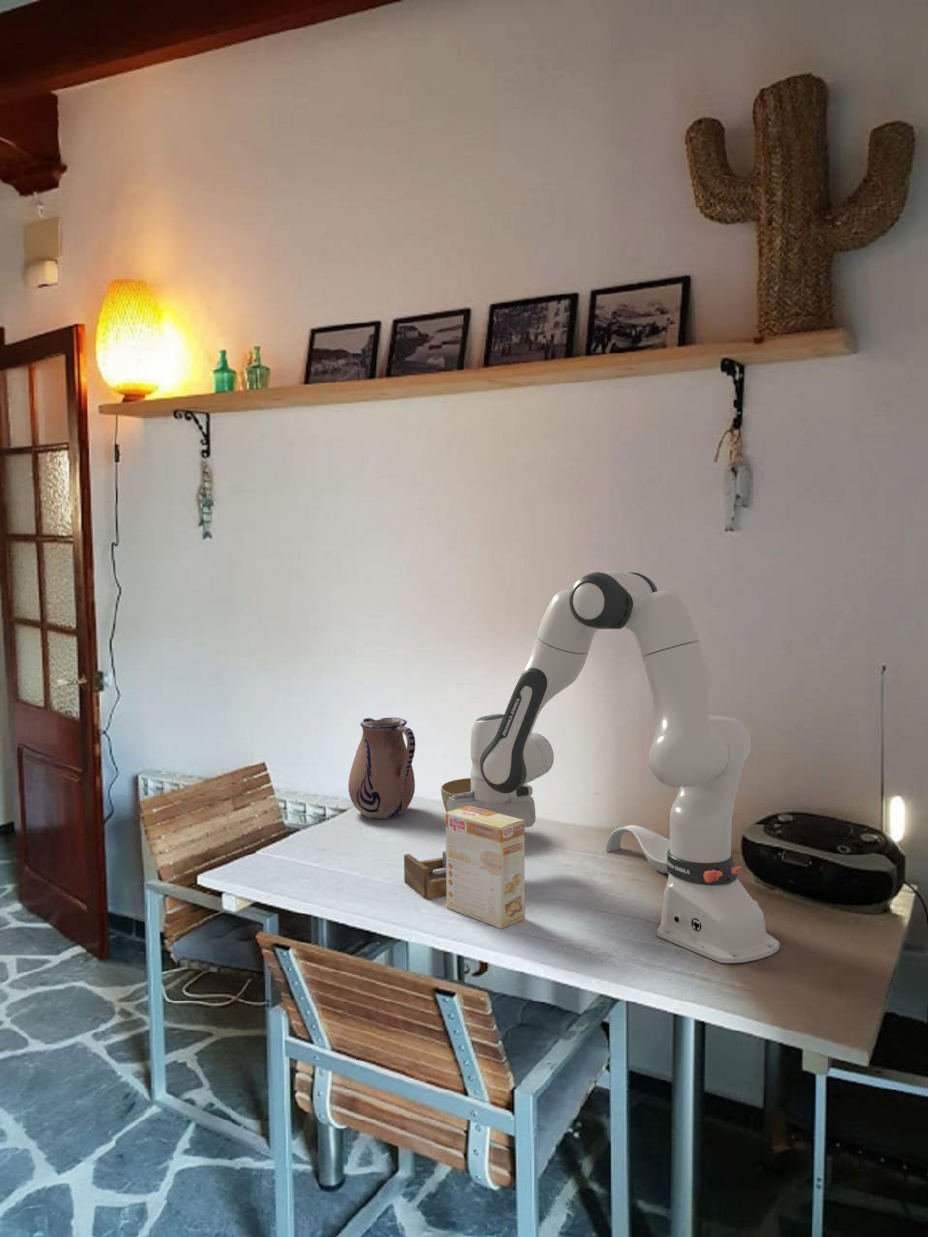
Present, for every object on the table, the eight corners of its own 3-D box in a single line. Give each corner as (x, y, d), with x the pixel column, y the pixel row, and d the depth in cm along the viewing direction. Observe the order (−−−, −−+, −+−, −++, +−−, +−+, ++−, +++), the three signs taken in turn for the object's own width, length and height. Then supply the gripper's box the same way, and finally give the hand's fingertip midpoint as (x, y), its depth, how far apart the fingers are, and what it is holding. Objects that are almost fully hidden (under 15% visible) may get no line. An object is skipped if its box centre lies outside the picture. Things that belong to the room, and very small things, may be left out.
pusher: (447, 873, 205) (447, 850, 204) (466, 887, 197) (466, 863, 196) (425, 877, 202) (424, 854, 202) (443, 891, 194) (442, 868, 194)
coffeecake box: (526, 919, 181) (526, 819, 179) (501, 930, 176) (500, 827, 174) (470, 898, 192) (469, 804, 190) (445, 908, 187) (444, 811, 185)
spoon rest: (711, 871, 206) (712, 839, 206) (678, 885, 199) (678, 851, 198) (627, 845, 224) (627, 815, 223) (593, 856, 217) (593, 826, 216)
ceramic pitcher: (378, 801, 262) (377, 712, 260) (439, 813, 250) (438, 720, 248) (335, 817, 248) (333, 722, 246) (397, 831, 236) (396, 732, 234)
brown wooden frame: (487, 864, 211) (487, 838, 210) (515, 882, 200) (515, 855, 199) (402, 880, 202) (401, 853, 201) (426, 900, 191) (425, 871, 190)
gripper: (453, 798, 196) (453, 863, 198) (539, 786, 205) (539, 849, 206) (441, 791, 202) (441, 854, 203) (525, 780, 211) (524, 840, 212)
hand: (491, 851), depth 205 cm, fingers closed
